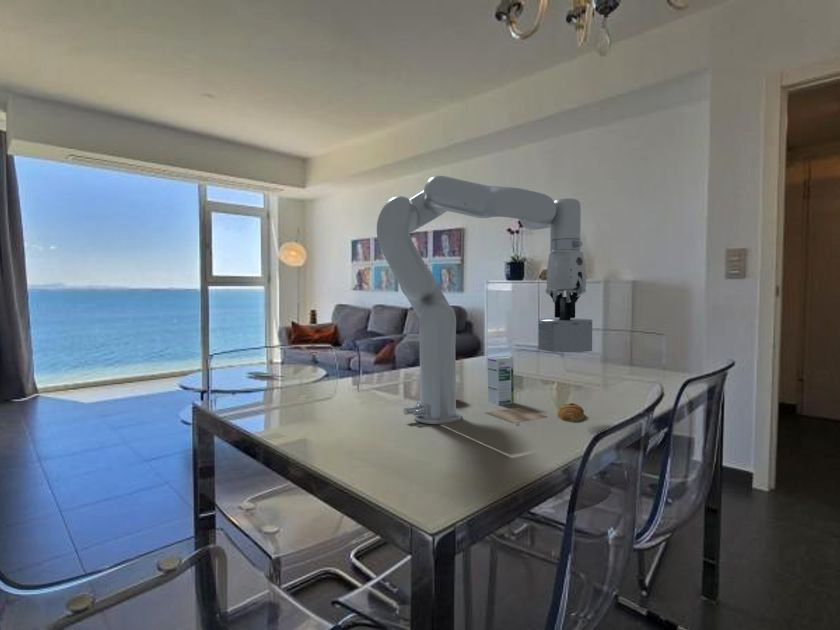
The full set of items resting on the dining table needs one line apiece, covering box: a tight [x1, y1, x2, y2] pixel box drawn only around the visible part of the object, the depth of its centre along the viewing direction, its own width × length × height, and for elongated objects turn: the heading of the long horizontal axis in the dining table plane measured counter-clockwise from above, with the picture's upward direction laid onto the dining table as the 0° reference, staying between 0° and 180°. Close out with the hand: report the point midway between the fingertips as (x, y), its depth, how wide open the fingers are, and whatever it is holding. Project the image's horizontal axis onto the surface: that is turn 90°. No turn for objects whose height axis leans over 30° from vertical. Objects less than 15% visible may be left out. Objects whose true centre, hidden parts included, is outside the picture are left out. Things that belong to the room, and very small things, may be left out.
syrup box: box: [486, 355, 515, 406], centre depth 143 cm, size 6×6×14 cm
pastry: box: [557, 402, 585, 423], centre depth 125 cm, size 9×7×4 cm
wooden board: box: [485, 407, 548, 424], centre depth 128 cm, size 12×12×1 cm
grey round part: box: [537, 296, 593, 353], centre depth 125 cm, size 14×14×14 cm
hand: (564, 317), depth 125 cm, fingers closed on grey round part, 2 cm apart
